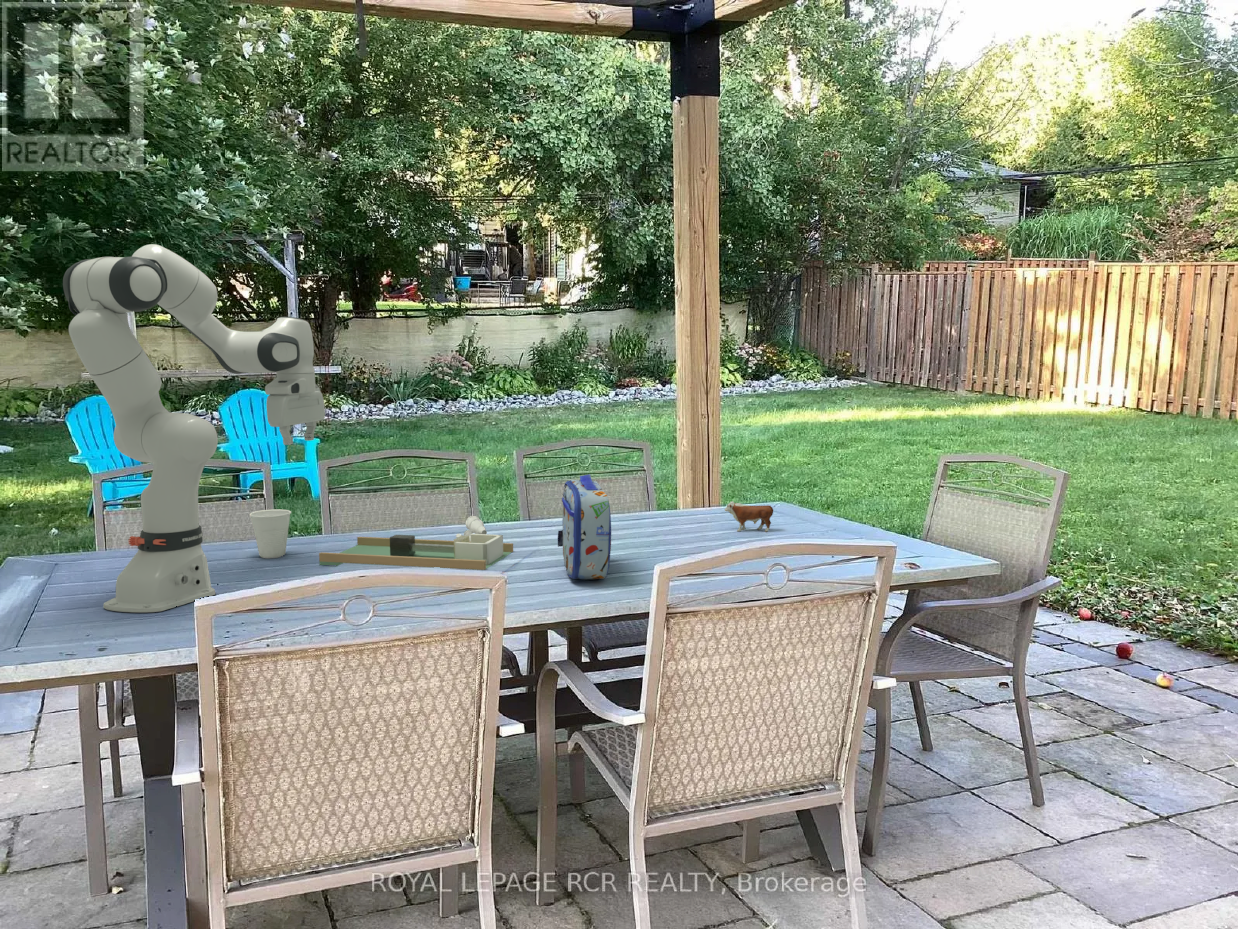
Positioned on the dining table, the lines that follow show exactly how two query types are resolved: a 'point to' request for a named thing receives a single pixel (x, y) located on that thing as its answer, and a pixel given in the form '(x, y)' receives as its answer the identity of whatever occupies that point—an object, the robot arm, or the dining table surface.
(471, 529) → the cream rounded piece
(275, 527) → the cup
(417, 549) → the kicker rod
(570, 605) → the dining table surface
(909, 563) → the dining table surface
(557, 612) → the dining table surface
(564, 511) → the lunch box
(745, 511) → the bull figurine
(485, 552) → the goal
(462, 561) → the pitch
